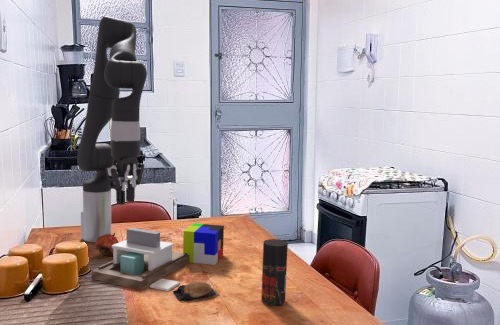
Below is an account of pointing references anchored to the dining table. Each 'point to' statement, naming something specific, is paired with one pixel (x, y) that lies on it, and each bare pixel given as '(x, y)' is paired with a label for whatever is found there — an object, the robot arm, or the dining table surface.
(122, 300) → the dining table surface
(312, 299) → the dining table surface
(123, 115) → the robot arm
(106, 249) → the pomegranate
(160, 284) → the pad
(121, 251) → the cover
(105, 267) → the brown flat frame
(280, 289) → the deodorant
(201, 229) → the puzzle toy
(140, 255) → the block
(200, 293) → the bread roll
